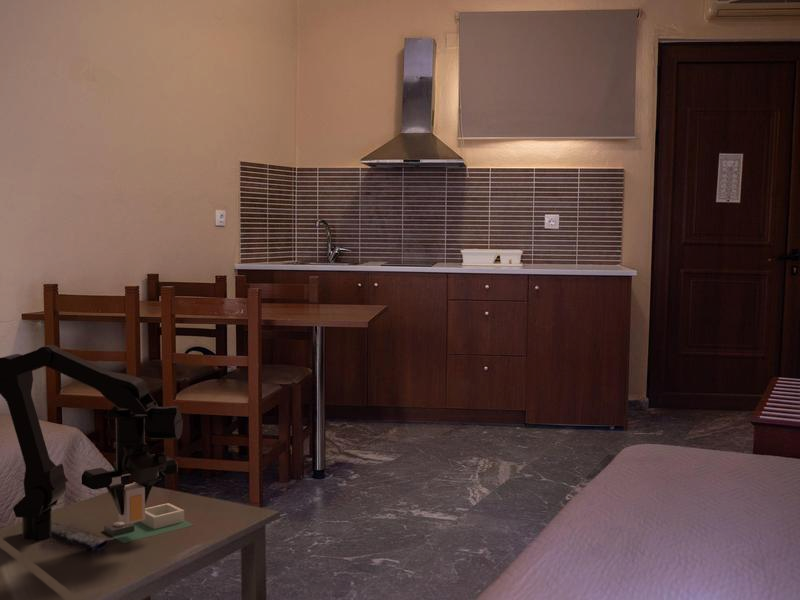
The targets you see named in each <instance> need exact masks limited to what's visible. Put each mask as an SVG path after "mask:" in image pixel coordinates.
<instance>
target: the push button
mask: <svg viewBox="0 0 800 600" xmlns="http://www.w3.org/2000/svg"><path fill="white" fill-rule="evenodd" d="M103 530H104V531H106V532H107V533H109V534H111V535H112V536H116V535H120V534H124V533H128V532H132V531H134V525H133V524H132V523H130V524H125V523H124V522H122V521H120V520H118V521H115V522H111V523H107V524H104V525H103ZM104 531H103V532H104ZM106 532H105V533H106ZM107 533H106V534H107ZM109 534H108V535H109ZM111 535H110V536H111ZM112 536H111V537H112Z"/></svg>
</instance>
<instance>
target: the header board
mask: <svg viewBox="0 0 800 600" xmlns="http://www.w3.org/2000/svg"><path fill="white" fill-rule="evenodd" d="M131 524H133V525H134V531H132V532H128V533H124V534H120V535H116V536H112V535H111V534H109V533H107V532H106V531H104V529H103V530H102V532H104V533H106V534H107V535H108V536H109V535H110V536H111V537H113V538H114V539H116V540H117V541H120V543H122V544H126V543H130V542H133V541H137V540H141V539H142V540H143V539H146V538H150V537H152V536H158V535H161V534H164V533H169V532H173V531H176V530H180V529H185V528H189V527H192V526H194V524H193V523H191V522H189V521H187V520H185V509H182V508H180V507H178V506H176V505H173V504H172V503H169V502H168V503H163V504H158V505H155V506H150V507H145V520H143V521H138V522H134V523H131Z"/></svg>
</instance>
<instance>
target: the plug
mask: <svg viewBox="0 0 800 600" xmlns="http://www.w3.org/2000/svg"><path fill="white" fill-rule="evenodd" d="M124 485H125V487H124V490H123V500H124V515H120V514H119V511H118V510H117V512H118V513H117V515H118V516H117V517H118V518H117V519H118V521H122V522H124V523H125V524H130V523H131V524H132V523H136V522H140V521H143V520H145V508H146V504H145V487H144V486H142V485H139V484H137V482H135V483H129V484H124Z"/></svg>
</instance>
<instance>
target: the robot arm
mask: <svg viewBox="0 0 800 600" xmlns="http://www.w3.org/2000/svg"><path fill="white" fill-rule="evenodd" d="M44 367H46V368H49V369H51V370H53V371H55V372H57V373H60V374H63V375H64V376H66V377H69V378H71V379H73V380H75V381H77V382H80V383H81V384H83V385H86V386H88V387H90V388H92V389H94V390H96V391H98V392H99V393H100V394H101V395H102V396H103V398H105V400H107V401H109V402H110V403H112V405H114V406H112V407H111V409H110V411H109V412H107V413H106V414H105V415H104V417H105V419H115V442H113V449H116V450H115V460H116V461H114V462H113V468H115V469H113V470H107V469H106V468H104V467H98V468H97V467H96V468H91V469H86V470H84V471H83V473H82V475H81V485H83V486H85V487H87V488H89V489H91V490H100V489H104V488H106V489H107V492H108V493H109V494H110V496H111V498H112V500H113V502H114V505H115V508H116V509H117V512H118V511H119V514H120V515H124V500H123V490H124V487H125V485H126V484H123V483H122V479H124V478H129V477H132V479H133V481H134V482H135V483H137V484H139V485H142V486H144V487H145V505H147V501H148V498H149V496H150V492H151V490H152V488H153V486H154V485H155V484H156V483H157V482H159V481H161V480H162V476H161V475H159V473H160V472H161V473H162V474H163V475H164V476H167V475H169V476H170V475H172V474H177V473H179V464H178V461H177V460H175V458H172V457H169V456H167V455H166V453H165V452H163V451H162V452H158V453H153V454H152V453H151V454H150V451H149V450H150V449H149V444H148V443H146V437H149V438H150V439H151V440H180V439H181V436H182V435H183V429H184V419H183V418H182V413H181V412H180V406H178V405H171V406H159V404H158V403H157V402H156V400H155V399H154V397H153V396H152V395H151V393H150V392H149V391H148V386H147V384H146V383H147V382H146V381H145V380H144V379H142V378H141V377H137V376H134V375H131V374H128V373H123V372H115V371H114V372H113V371H110V370H108V369H105V368H103V367H100V366H99V365H97V364H94V363H92V362H89V360H88V361H87V360H85V359H83V358H81V357H79V356H78V355H75V354H73V353H70V352H68V351H67V350H64V349H62V348H60V347H58V345H55V344H47V345H44V346H41V347H39V348H38V349H36V350H33V351H30V352H28V353H23V354H20V353H14V354H11V355H5V356H3V357H0V396H2V398H3V399H4V400H5V401H6V403H7V407H8V410H9V411H8V412H9V414H10V416H11V421H12V424H13V428H14V431H15V434H16V438H17V443H18V445H19V448H20V451H21V455H22V458H23V459H22V460H23V462H24V465H25V467H24V469H25V470H24V475H23V491H24V496H23V497H22V498H21V499H20V500H19V501H18V502H17V503H16V504H15V505H14V506H13V507H12V509H13V513H14V515H15V517H16V518H21V528H22V529H21V530H22V531H21V536H22V539H25V540H29V541H30V540H33V541H37V542H39V541H42V540H48V539H51V537H52V534H51V530H52V531H53V515H52V514H53V512H52V511H53V510H52V508H53V507H54V506H56V505H57V503H58V502H59V499H60V498H61V497H62V496H63V495H64V493H65V492H66V490H67V482H68V481H69V480H68V477H66V475H65V470H64V465H63V463H60V464H58V465H56V464H55V463H54V461H52V459H51V458H50V454H49V452H48V448H47V445H46V442H45V438H44V435H43V431H42V427H41V425H40V421H39V417H38V413H37V411H36V407H35V404H34V403H35V402H34V401H33V397H32V389H33V382H34V373H33V372H34V371H36V370H38V369H41V368H44Z"/></svg>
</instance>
